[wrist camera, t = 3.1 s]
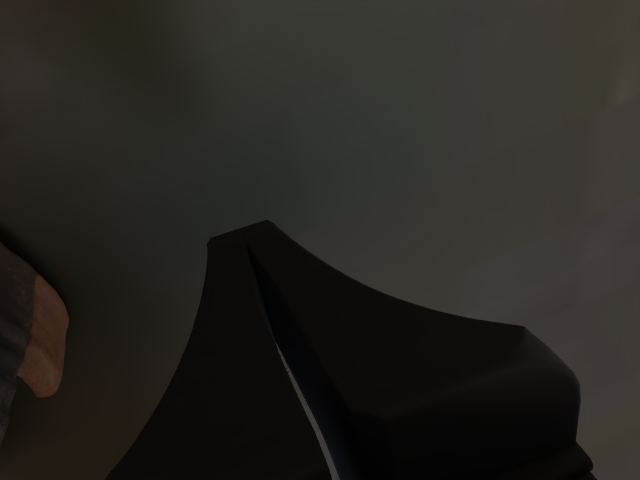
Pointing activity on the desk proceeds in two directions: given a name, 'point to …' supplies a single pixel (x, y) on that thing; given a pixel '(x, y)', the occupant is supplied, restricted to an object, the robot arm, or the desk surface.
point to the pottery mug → (28, 332)
